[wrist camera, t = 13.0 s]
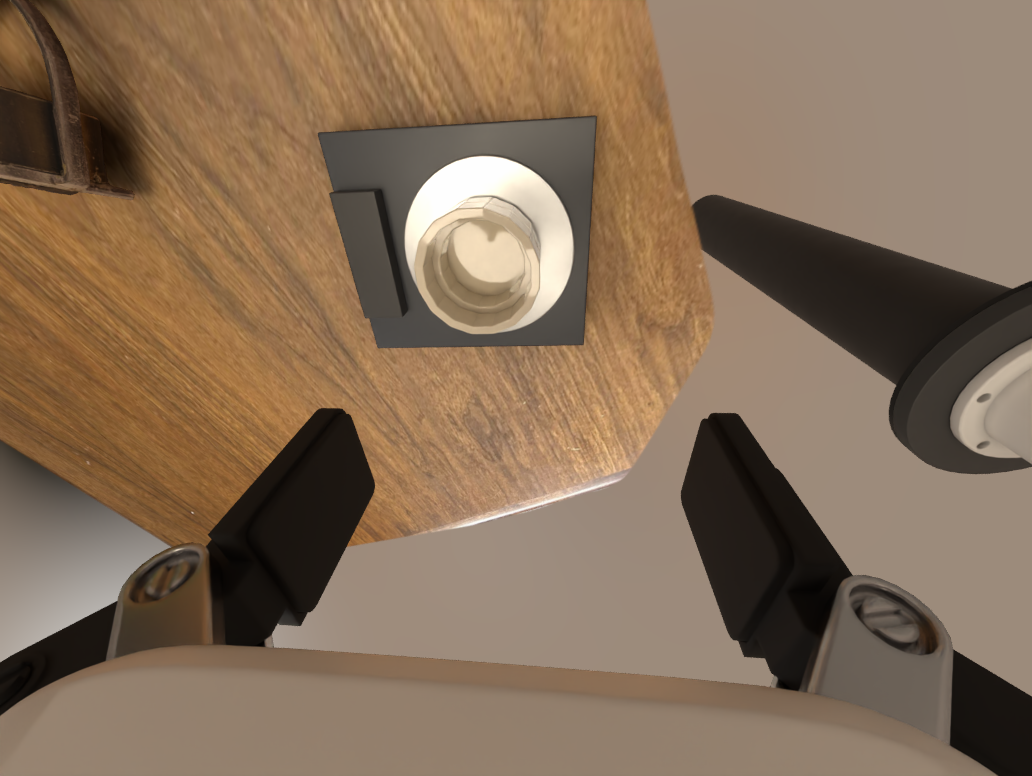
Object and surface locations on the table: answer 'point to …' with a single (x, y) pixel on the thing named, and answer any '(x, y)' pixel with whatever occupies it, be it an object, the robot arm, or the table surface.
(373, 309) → the scale
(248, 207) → the table surface
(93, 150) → the mechanical counter
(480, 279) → the bowl
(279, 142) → the table surface
